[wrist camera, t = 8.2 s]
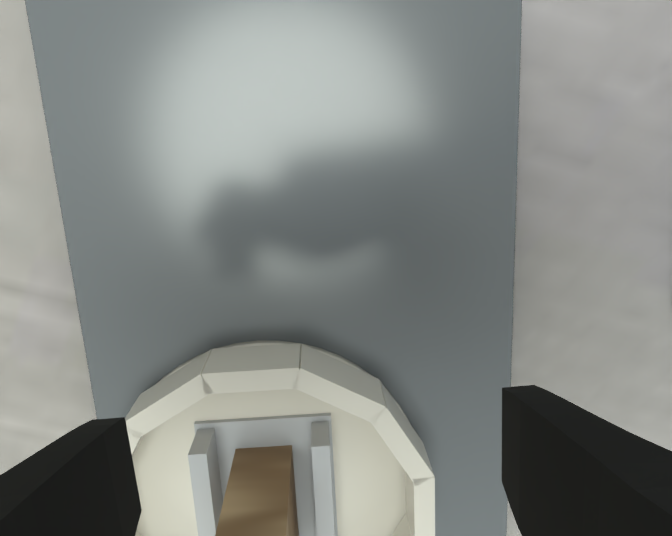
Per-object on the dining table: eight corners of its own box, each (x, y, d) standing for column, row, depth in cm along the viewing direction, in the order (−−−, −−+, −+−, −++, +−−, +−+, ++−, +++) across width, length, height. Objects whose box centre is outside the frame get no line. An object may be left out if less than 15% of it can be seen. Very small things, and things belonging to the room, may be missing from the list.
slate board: (518, -93, 18) (524, -99, 17) (500, 606, 24) (504, 616, 24) (20, -71, 17) (11, -76, 17) (139, 632, 24) (135, 643, 23)
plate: (419, 330, 20) (434, 359, 18) (423, 596, 23) (435, 651, 21) (93, 350, 20) (64, 382, 18) (138, 616, 23) (118, 674, 21)
